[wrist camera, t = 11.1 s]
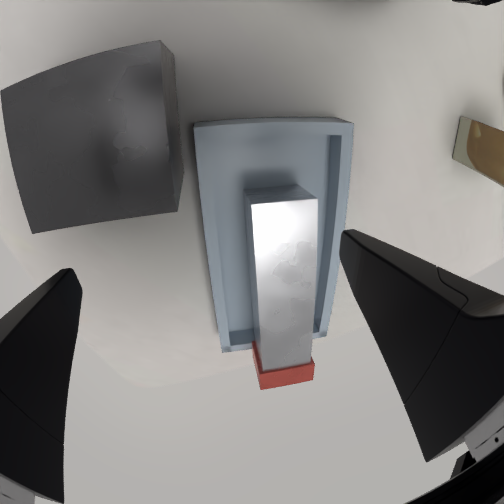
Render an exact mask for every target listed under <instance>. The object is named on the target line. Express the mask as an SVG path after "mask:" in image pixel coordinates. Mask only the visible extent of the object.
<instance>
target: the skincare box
mask: <svg viewBox="0 0 504 504" xmlns="http://www.w3.org/2000/svg"><path fill="white" fill-rule="evenodd" d="M453 159H454V160H456V161H458V162H460V163H462V164H464V165H465V166H467V167H469V168H471V169H473V170H475V171H477V172H479V173H480V174H482V175H484V176H486V177H487V178H489V179H491V180H493V181H494V182H496V183H498V184H499V185H501V186H503V187H504V131H501V130H498V129H496V128H493V127H490V126H488V125H485V124H483V123H480V122H477V121H474V120H471V119H468V118H465V117H460V123H459V128H458V133H457V138H456V143H455V149H454V153H453Z"/></svg>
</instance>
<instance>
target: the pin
mask: <svg viewBox="0 0 504 504" xmlns="http://www.w3.org/2000/svg"><path fill="white" fill-rule="evenodd" d="M243 197H244V210H245V223H246V235H247V248H248V260H249V273H250V285H251V298H252V310H253V322H254V334H255V341H252V351H253V359H254V363H255V368H256V371H257V376H258V381H259V385H260V389H261V390H263V389H269V388H275V387H280V386H286V385H291V384H296V383H301V382H305V381H310V380H313V375H314V366H315V364H314V361H313V359H312V357H311V350H312V337H313V324H314V308H315V290H316V267H317V232H318V198H316V197H315V196H313V195H312V194H311V193H309V192H308V191H307V190H305V189H304V188H302V187H301V186H300V185H287V186H275V187H263V188H253V189H243Z"/></svg>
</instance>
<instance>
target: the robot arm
mask: <svg viewBox="0 0 504 504" xmlns="http://www.w3.org/2000/svg"><path fill="white" fill-rule="evenodd" d="M452 1H454V2H458V3H470V4H476V5H484V6H487V5H490V4H493V3H496V2H500V1H502V0H452ZM339 257H340V260H341V263H342V266H343V268H344V271H345V274H346V276H347V279H348V282H349V284H350V287H351V290H352V292H353V295H354V297H355V299H356V301H357V303H358V305H359V307H360V309H361V311H362V313H363V315H364V317H365V319H366V321H367V323H368V325H369V327H370V330H371V332H372V334H373V336H374V338H375V340H376V342H377V344H378V347H379V349H380V351H381V353H382V355H383V358H384V360H385V362H386V364H387V366H388V369H389V371H390V373H391V376H392V378H393V380H394V382H395V385H396V387H397V389H398V392H399V394H400V396H401V399H402V401H403V404H405V405H404V407H405V409H406V411H407V414H408V416H409V419H410V421H411V424H412V427H413V429H414V432H415V434H416V437H417V439H418V442H419V445H420V448H421V450H422V453H423V456H424V459H425V461H426V462H429V461H430V460H433V459H435V458H436V457H438V456H440V455H442V454H444V453H446V452H447V451H449V450H451V449H453V448H454V447H456V446H458V445H459V444H461V443H462V442H464V441H465V443H466V445H467V447H468V449H469V451H468V452H466V453H465V454H463V455H462V456H460V457H459V458H458V459H457V461H456V464H455V467H454V470H453V472H452V475H451V478H450V480H448V481H447V482H445V483H443V484H441V485H440V486H438V487H436V488H435V489H432V490H431V491H429V492H427V493H425V494H423V495H421V496H419V497H417V498H415V499H413V500H411V501H409V502H407V503H405V504H504V295H501V294H498V293H496V292H494V291H492V290H489V289H487V288H485V287H483V286H480V285H478V284H475V283H473V282H471V281H468V280H466V279H464V278H462V277H459V276H457V275H455V274H453V273H451V272H449V271H446V270H444V269H442V268H440V267H436V265H434V264H432V263H429V262H427V261H425V260H423V259H421V258H419V257H416V256H414V255H412V254H410V253H408V252H405V251H403V250H401V249H399V248H397V247H394V246H392V245H390V244H387V243H385V242H383V241H381V240H378V239H376V238H374V237H371V236H369V235H367V234H364V233H362V232H359V231H357V230H355V229H350V230H344V231H342V233H341V238H340V248H339ZM81 301H82V287H81V285H80V283H79V280H78V278H77V276H76V274H75V272H74V270H73V269H72V268H66V269H61V270H60V271H59V272H57V273H56V274H55V275H53V276H52V277H51V278H49V279H48V280H47V281H46V282H44V283H43V284H42V285H41V286H39V287H38V288H37V289H36V290H34V291H33V292H32V293H31V294H29V295H28V296H27V297H26V298H24V299H23V300H22V301H21V302H20V303H18V304H17V305H16V306H15V307H14V308H13V309H12V310H10V311H9V312H8V313H7V314H6V315H4V316H3V317H2V318H1V319H0V504H34V501H35V496H38V497H41V498H44V499H48V500H51V501H55V502H58V503H62V504H64V482H63V481H64V480H63V479H64V478H63V459H64V458H63V456H64V445H63V444H64V430H65V417H66V406H67V397H68V388H69V381H70V374H71V367H72V360H73V355H74V349H75V344H76V338H77V333H78V326H79V317H80V309H81Z"/></svg>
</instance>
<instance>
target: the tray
mask: <svg viewBox="0 0 504 504" xmlns="http://www.w3.org/2000/svg"><path fill="white" fill-rule="evenodd" d="M353 129H354V123H351V122H348V121H345V120H342V119H339V118H326V117H267V118H245V119H229V120H216V121H206V122H196V123H195V124H194V139H195V150H196V160H197V170H198V180H199V190H200V199H201V207H202V216H203V224H204V232H205V240H206V248H207V256H208V263H209V270H210V278H211V285H212V291H213V298H214V305H215V311H216V318H217V324H218V330H219V337H220V343H221V349H222V353H223V352H232V351H240V350H247V349H252V341H255V334H254V322H253V310H252V298H251V285H250V273H249V260H248V248H247V235H246V223H245V210H244V197H243V189H253V188H263V187H275V186H287V185H300V186H301V187H302V188H304V189H305V190H307V191H308V192H309V193H311V194H312V195H313V196H315V197H316V198H318V232H317V267H316V290H315V308H314V324H313V337H312V339H315V338H320V337H325V336H326V335H327V330H328V325H329V320H330V315H331V310H332V305H333V299H334V294H335V288H336V282H337V276H338V270H339V263H340V257H339V248H340V238H341V233H342V231H344V228H345V220H346V212H347V203H348V193H349V183H350V172H351V160H352V146H353Z"/></svg>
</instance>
